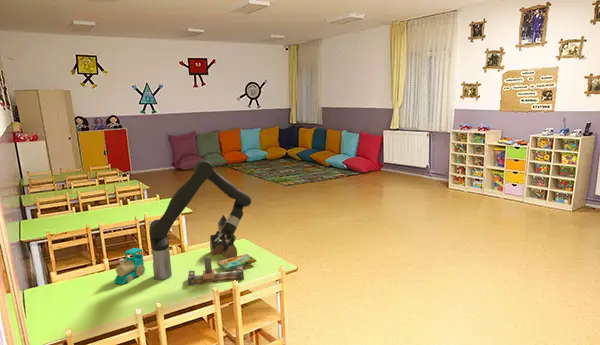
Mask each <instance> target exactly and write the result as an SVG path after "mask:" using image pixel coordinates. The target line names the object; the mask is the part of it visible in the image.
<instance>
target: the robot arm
mask: <svg viewBox="0 0 600 345" xmlns="http://www.w3.org/2000/svg"><path fill="white" fill-rule="evenodd" d="M206 180H209V181H210V182H211V183H212V184H214V185H215V186H216V188H218V189H219V190H220V191H221V192H222V193H223V194H225V195H226V196H228V197H229V198H230V199H232V200H234V203H233V206H232V210H231V212H230V213H229V215H228V217H227V218H226V219H227V220H226V222H225V224H224V226H223V228H222V232H219V230H217V231H216V232H215V233H214V235H215V236H214V237H213V240H214V243H213V245H212V248H213V249H215V248H216V246H217V244H218V242H220V241H226V245H225V246H224V248H223V251H224V252H226V251H227V249H228V247H229V246H233V244H234V243H235V241H236V239H237V236H236V235H235V232H236V230H237V229H238V227H239V224H240V222H241V219H242V217H243V215H244V211H243V209H244V208H246V207H249V206H250V205H251V204H252V198H251V197H250V196H249V194H247V193H245V192H244V191H242V190H240V189H239V188H238V187H236V186H235V185H234V184H233V183H232V182H230V181H229V180H227V179H226V178H225V177H223V176H222V175H221V174H220V173H218V171H216V170H215V168H214V166H213V164H212V163H211V162H209V161H208V160H206V159H201V160H198V161H197V162H196V163H195V165H194V172H193V174H192V175H191V177H190V178H189V179H188V180H187V181H186V182H184V183H183V184H182V185H181V187H179V188H178V189H177V190H176V192H175V194H174V195H172V198H170V201H169V202H168V204H167V206H166V209H165V211H164V213H163V215H162V216H161V217H160V218H159V219H158V218H157V219H155V220H152V221H151V222H150V225H149V236H150V244H151V246H150V247H151V251H152V252H151V254H152V261H153V262H152V270H153V279H154V280H167V279H170V278H171V277H172V274H173V272H172V263H171V255H170V254H171V253H170V252H171V251H170V243H169V236H168V233H169V232H170V230H171V228H172V227H173V225H174V223H175V221H176V220H177V219H178V218H179V216H180V215H181V214H182V213H183V211H184V210H185V208H187V206H188V205H189V204H190V202H191V201H192V200H193V198H194V197H195V195H196V194H197V192H198V191H199V189H200V188H201V186H202V185H203V184H204V183H205V182H206ZM215 238H216V239H215ZM230 238H231V240H230ZM217 240H218V241H217ZM234 245H235V244H234Z"/></svg>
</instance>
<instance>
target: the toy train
mask: <svg viewBox="0 0 600 345" xmlns="http://www.w3.org/2000/svg"><path fill="white" fill-rule="evenodd" d="M128 255H131V256H132V257H128ZM124 261H125V262H124ZM118 262H119V264H118V265H117V266H116V268H115V272H116V274H117V275H116V277H115V279H114V281H113V283H116V284H119V285H120V284H121V285H123V284H126V283H131V282H132V281H133V279H134V278H136V277H141V276H143V275H144V273H145V270H146V268H145V265H144V264H145V263H144V256H143V249H142V248H138V247H132V248H130V249H128V250H126V251H125V258H119V259H118Z"/></svg>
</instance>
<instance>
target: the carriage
mask: <svg viewBox="0 0 600 345" xmlns="http://www.w3.org/2000/svg"><path fill="white" fill-rule="evenodd" d="M203 258H204V270H202V275H203V280H204V279H213V278H214V273H215V269H213V268H212V267H213V266H212V258H211V256H205V257H203Z"/></svg>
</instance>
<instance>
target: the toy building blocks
mask: <svg viewBox="0 0 600 345" xmlns="http://www.w3.org/2000/svg"><path fill="white" fill-rule="evenodd" d="M226 220H227V218H226V217H225V215H224V214H223V215H222V216H221V217H220V219H219V221H218V222H217V226H218V228H217V229H218V230H217V231H219V232H222V228H223V226H224V224H225V222H226ZM214 236H215V234H211V235H210V236H209V237H210V238H209V247H210V248H209V249H210V254H212V256H216V255H223V256H224V258H225V259H228V258H233V257H237V256H238V249H237V247H236V245H235V244H233V246H229V247H228V249H227V251H226V252H224V251H223V248H224V246H225V245H226V241H220V242H218V244H217V246H216V248H215V249H213V248H212V245H213V243H214V240H213V237H214ZM215 239H216V238H215ZM230 240H231V238H230ZM217 241H218V240H217Z"/></svg>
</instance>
